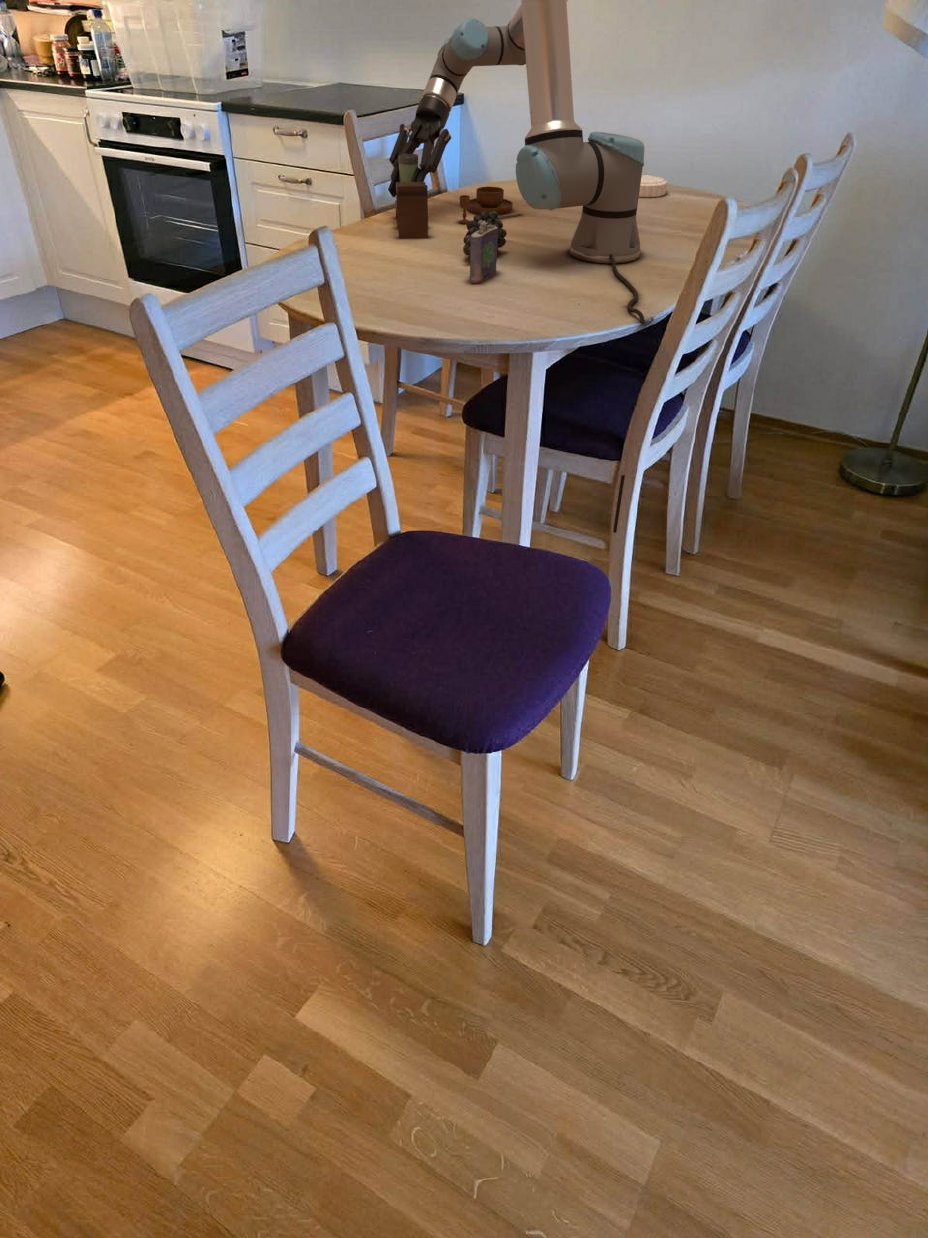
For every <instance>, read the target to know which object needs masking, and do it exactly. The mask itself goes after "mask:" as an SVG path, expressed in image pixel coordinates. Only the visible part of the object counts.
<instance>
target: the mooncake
mask: <svg viewBox="0 0 928 1238" xmlns="http://www.w3.org/2000/svg"><path fill="white" fill-rule="evenodd" d="M667 186H668V181H667V180H666V179H665V178H663V177H660V176H659V177H658V176H655V175H647V174H645V175H644V174H642V176H641V184H640V191H639V198H659V197H662V196H664V195H666V193H667Z"/></svg>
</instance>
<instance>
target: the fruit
mask: <svg viewBox="0 0 928 1238" xmlns="http://www.w3.org/2000/svg"><path fill="white" fill-rule="evenodd" d="M498 217H500V216H499V214H498V213H497V212H496V211H492V212H490V213H489V212H487V211H483V212H482V214H478V213H475V214H474V215H473V217H472V218H473V219H472V220H469V221H470V222H469V223H467V224H465V225H466V229H467V232H466V234H465V236H463V241H462V242H463V244H464V246H463V247H462V252H463V254H464V255H465V256H467V257H468V258H469V259H470V255H471V235H472V234H473V233H475V232H476V231H478V230H480V229H479V227H480V225H481V224H480V223H481V222H480V223H479V224H478V222H479V221H481V220H483V221H485V222H486V223H488V224H486V226H487V225H491V226H495V227H498V242H497V253H498V252H499V249H501V248H502V247H504V246H505V245H506V243H507V240H506V236H507V235H508V234H507V233H508V232H507V230H506V229H505V228H503V227H504V223H503V221H502V220H501V219H498ZM483 221H482V222H483Z"/></svg>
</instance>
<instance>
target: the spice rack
mask: <svg viewBox="0 0 928 1238" xmlns="http://www.w3.org/2000/svg"><path fill="white" fill-rule="evenodd" d="M428 193H429V191H428V185H427V183H426V181H424V182H396V196H395V199H396V200H395V201H394V203H395V204H394V206H395V207H394V209H395V219H396V226H397V227H396V228H397V230H398V239H428V238H429V204H428V203H429V202H428V201H429V200H428V199H429V198H428Z"/></svg>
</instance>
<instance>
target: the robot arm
mask: <svg viewBox="0 0 928 1238" xmlns="http://www.w3.org/2000/svg"><path fill="white" fill-rule="evenodd" d="M568 1H569V0H520V5H519V7H518V8H517V10H516V11H515V13H514V15H513V16H512V18H511V19H510V20H509V22H508V24H507V25H499V26H497V25H495V26H486V24H484V22H483V21H481V20H479V19H477V18H476V17H467V18H464V19H463V20H462V21H461V22H460V23H459V24H458V26H457V27H456V28H455V29H453V30H454V31H453V32H452V34H451V36H450V38H448V37H447V38H445V40H444V41H443V43H442V45H441V47H440V48H439V50H438V53H437V57H436V60H435V62H434V65H433V68H432V71H431V73H430V76H429V78H428V80H427V82H426V85H425V88H424V90H423V92H422V94H421V98H420V101H419V103H418V106H417V108H416V111H415V117H414V119H413V120H412V121H411V123H410V124H408V125H405V124H404V123H401V124H400V125H399V133H398V136H397V138H396V140H395V143H394V146H393V149H392V151H391V153H390V157H389V159H388V160H389V163H390V164H391V165H392V167H393V169H392V172H391V174H390V179H391V181H390V183H389V185H388V187H387V191H388V192H389V194H390V195H391V197H392V198H396V182H399V158H398V156H399V155H400V154H415V152H416V150H417V149H418V148H420V146H421V145H422V144H423V147H422V152H421V159H420V163H418V167H416V170H415V173H414V175H413V178H412V180H411V182H425V179H426V177H427V175H429V174H430V173H432V174H435V173H437V169H438V167H439V165H440V162H441V159H442V157H443V155H444V152H445V149H446V147H447V145H448V144H449V142H450V141H451V140H452V136H451V134H450V131H449V129H448V128H445V127H446V125H447V123H448V120H449V117H450V113H451V111H452V108H453V107H454V104H455V101H456V98H457V97H458V93H459V91H460V89H461V86H462V84H463V81H464V79H465V78H466V76H467V75H468V74H469V73H470V71H471V70H472V69H473V67H492V66H495V67H496V66H525V69H526V80H527V92H528V93H527V94H528V105H529V119H530V129H529V130H528V132H527V134H526V135H525V137H524V146H523V147H521V148H520V150H519V151H518V153H517V156H516V163H515V179H516V184H517V187H518V191H519V192H520V195H521V197H522V199H523V201H525V202H526V203H525V204H527V206H529V207H530V208H532V209H534V210H547V211H553V210H558V209H563V208H564V209H565V208H574V207H582V210H581V215H580V219H579V222H578V224H577V226H576V229H575V232H574V234H573V237H572V239H571V241H570V242H571V243H570V247H569V254H570V255H571V256H573V257H574V258H576V259H578V260H582V261H585V262H590V263H597V264H611V265H612V270H613V273H614V275H615V276H616V277H617V278H618V280H620V281H622V283H624V284H625V286H626V287H627V288H628V289H629V290H630V291H631V292H632V293H633V298H631V299H630V300H629V302H628V303H627V305H626V308H627V310H628V312H630V313H634V314H636V315H638V317H639V321H640V324H641V325H645V324H646V321H645V317H644V314H643V313H642V311H641V310H640V309H638V308H635V307H632V305H633V304H635V302H636V301H638V298H639V293H638V290H637V289H636V288H635V287H634V286H633V285H632V284H631V282H629V280H627V279H626V278H625V277H624V276H623V275H621V273H620V272H619V270H618V268H617V264H624V263H629V262H630V263H631V262H633V261H635V260H638V259H639V258H640V255H641V240H640V235H639V234H640V233H639V227H638V222H637V214H638V213H637V212H638V205H639V198H640V197H639V191H640V184H641V176H642V175H643V168H644V166H645V145H644V143H643V141H642V140H640V139H638V138H635V137H631V136H627V135H624V134H623V135H622V134H617V133H609V132H602V131H591V132H590V133H589V136H588V137H587V141H584V135H583V133H584V132H583V128H582V127H580V125H578V124H577V123H576V121H575V112H574V96H573V82H572V65H571V64H572V63H571V49H570V48H571V47H570V34H569V17H568V4H567V2H568ZM435 141H436V142H435ZM625 477H626V474H621V475H620V482H619V487H618V488H619V489H618V496H617V501H616V509H615V515H614V522H613V529H612V533H614V534H616V533H617V530H618V524H619V517H620V511H621V505H622V498H623V491H624V485H625Z"/></svg>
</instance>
